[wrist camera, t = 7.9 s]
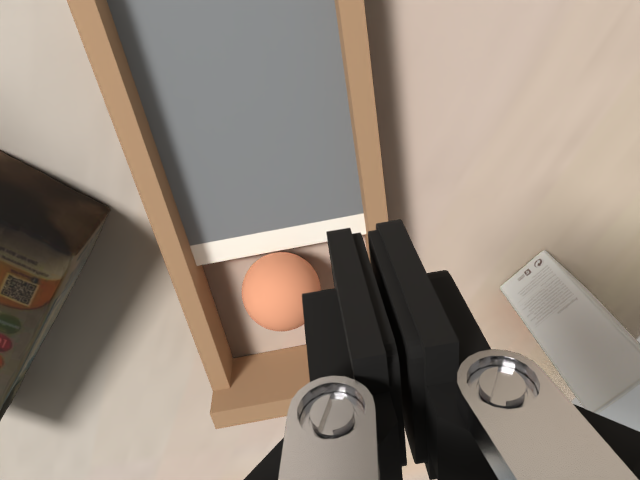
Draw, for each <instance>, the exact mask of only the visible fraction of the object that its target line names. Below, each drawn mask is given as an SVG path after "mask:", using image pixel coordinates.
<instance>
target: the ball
mask: <svg viewBox="0 0 640 480" xmlns="http://www.w3.org/2000/svg"><path fill="white" fill-rule="evenodd" d="M316 291H321V287H320V281H319V278H318V276H317V273H316V272H315V270H314V269H313V267H312V266H311V265H310V264H309V263H308V262H307V261H306V260H305V259H303V258H301V257H300V256H298V255H295V254H292V253H288V252H276V253H271V254H268V255H266V256H264V257H262V258H260V259H258V260H257V261H256V262H255V263H254V264H253V265H252V266H251V267H250V268H249V270H248V272H247V273H246V275H245V278H244V281H243V285H242V299H243V303H244V306H245V309H246V311H247V312H248V314H249V315H250V317H251V318H252V319H253V320H254V321H255V322H256V323H258V324H259V325H261V326H262V327H264V328H266V329H269V330H274V331H289V330H292V329H295V328H298V327H300V326H302V325H303V324H304V315H303V304H302V294H303V293H309V292H316Z"/></svg>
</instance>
